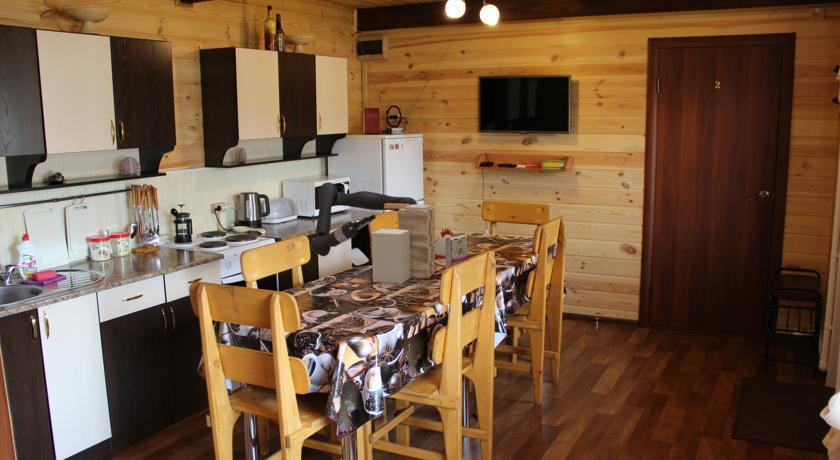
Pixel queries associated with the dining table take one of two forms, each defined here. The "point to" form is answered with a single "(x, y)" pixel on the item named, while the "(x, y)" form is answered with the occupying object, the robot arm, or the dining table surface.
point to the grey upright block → (391, 255)
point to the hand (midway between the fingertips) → (371, 217)
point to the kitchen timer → (442, 244)
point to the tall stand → (420, 241)
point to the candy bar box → (456, 250)
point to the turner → (408, 206)
